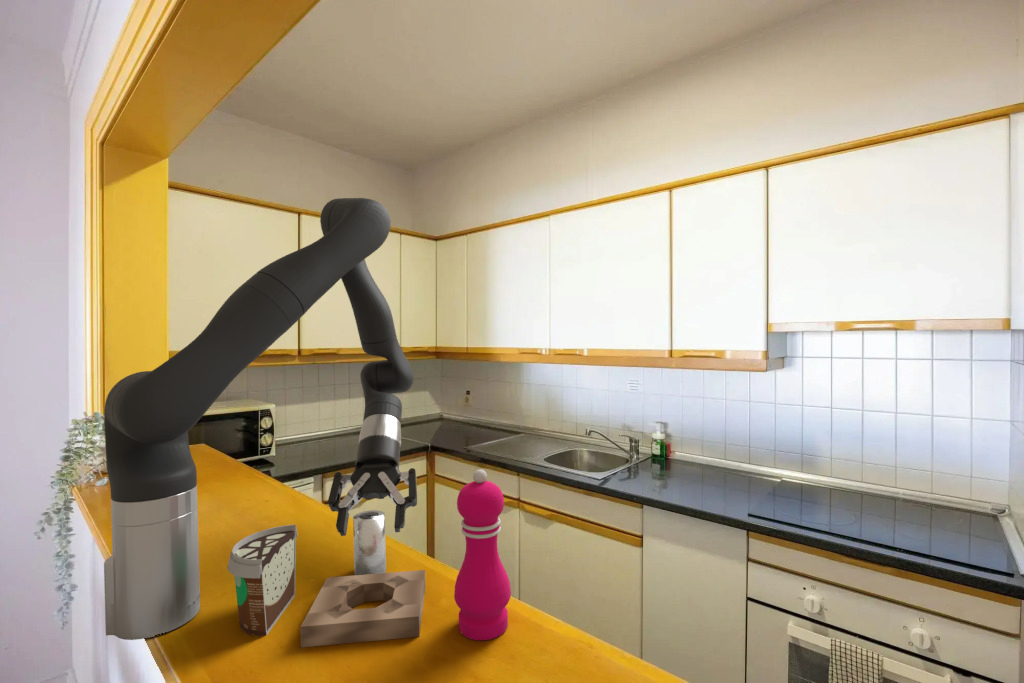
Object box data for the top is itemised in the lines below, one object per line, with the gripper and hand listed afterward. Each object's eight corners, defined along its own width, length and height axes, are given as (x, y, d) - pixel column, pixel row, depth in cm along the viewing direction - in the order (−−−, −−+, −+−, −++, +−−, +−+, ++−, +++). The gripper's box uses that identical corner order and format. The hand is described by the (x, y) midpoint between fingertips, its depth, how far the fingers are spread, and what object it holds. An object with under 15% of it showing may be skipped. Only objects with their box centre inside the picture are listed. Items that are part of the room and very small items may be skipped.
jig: (301, 647, 57) (300, 626, 57) (327, 594, 69) (327, 577, 69) (419, 636, 59) (418, 616, 59) (425, 586, 71) (425, 569, 71)
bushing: (351, 581, 73) (350, 522, 73) (358, 566, 78) (356, 511, 78) (383, 578, 74) (382, 520, 74) (388, 564, 78) (386, 509, 78)
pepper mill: (460, 649, 56) (456, 480, 56) (450, 615, 63) (447, 465, 63) (518, 637, 58) (515, 474, 58) (503, 605, 65) (500, 460, 65)
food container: (256, 592, 70) (254, 525, 70) (298, 590, 71) (297, 523, 71) (208, 646, 58) (206, 564, 58) (261, 643, 58) (259, 561, 58)
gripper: (335, 435, 84) (318, 525, 73) (417, 431, 86) (413, 518, 75) (343, 458, 89) (328, 545, 78) (420, 454, 91) (417, 538, 80)
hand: (370, 532), depth 76 cm, fingers open, 8 cm apart
